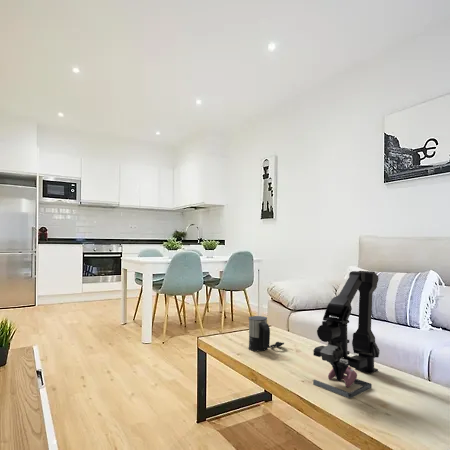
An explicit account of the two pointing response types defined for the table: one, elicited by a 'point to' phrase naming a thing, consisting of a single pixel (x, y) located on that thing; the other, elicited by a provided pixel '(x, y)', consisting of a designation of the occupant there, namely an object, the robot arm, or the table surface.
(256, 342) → the milk frother
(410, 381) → the table surface
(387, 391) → the table surface
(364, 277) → the robot arm
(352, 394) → the metal bay
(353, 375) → the video game controller
